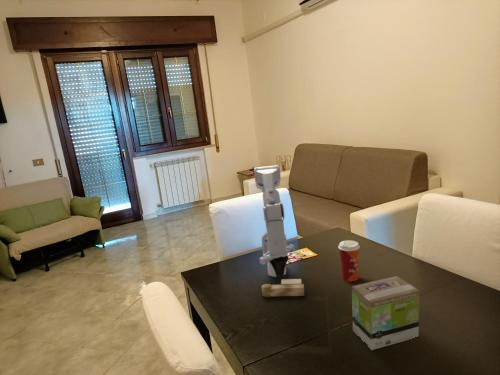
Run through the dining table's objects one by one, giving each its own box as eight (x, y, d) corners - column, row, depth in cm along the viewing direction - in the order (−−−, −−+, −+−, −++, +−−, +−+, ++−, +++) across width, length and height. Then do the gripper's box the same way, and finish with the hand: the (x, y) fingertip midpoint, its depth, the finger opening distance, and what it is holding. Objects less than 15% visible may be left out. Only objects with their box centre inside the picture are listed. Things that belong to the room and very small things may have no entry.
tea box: (372, 352, 97) (370, 302, 93) (352, 331, 106) (349, 285, 103) (420, 338, 100) (420, 289, 97) (396, 318, 110) (395, 273, 106)
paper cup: (356, 285, 131) (354, 248, 128) (336, 280, 136) (334, 245, 133) (364, 276, 137) (363, 241, 134) (345, 272, 142) (343, 238, 139)
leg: (261, 297, 128) (261, 289, 127) (263, 292, 131) (262, 284, 131) (304, 296, 126) (303, 287, 125) (304, 291, 129) (303, 282, 128)
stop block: (282, 288, 133) (281, 279, 132) (301, 287, 132) (301, 278, 131) (281, 292, 130) (281, 283, 129) (301, 292, 129) (300, 283, 128)
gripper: (268, 248, 113) (272, 288, 116) (300, 234, 121) (303, 272, 124) (253, 243, 118) (257, 281, 121) (285, 230, 127) (288, 266, 130)
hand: (279, 276), depth 123 cm, fingers closed
